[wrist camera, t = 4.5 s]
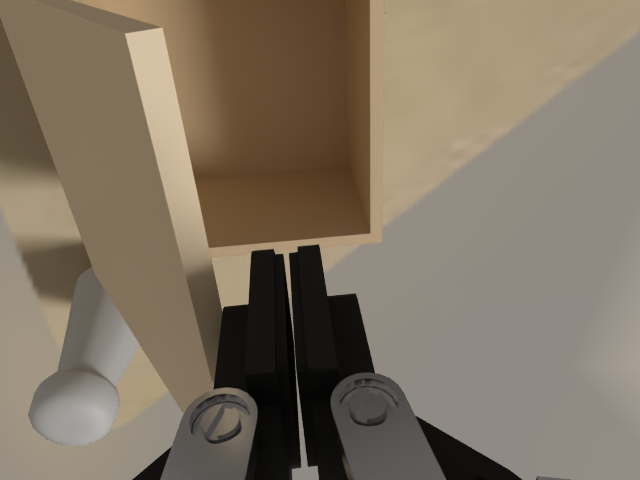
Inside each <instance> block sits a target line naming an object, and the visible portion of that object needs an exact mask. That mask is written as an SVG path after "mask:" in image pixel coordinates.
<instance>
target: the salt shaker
mask: <svg viewBox="0 0 640 480" xmlns="http://www.w3.org/2000/svg"><path fill="white" fill-rule="evenodd" d="M139 346H140V344H139V343H138V341H137V340H136V338H135V336H134V335H133V333H132V332H131V330H130V329H129V327H128V325H127V324H126V322H125V321H124V319H123V318H122V316H121V314H120V313H119V311H118V310H117V308H116V307H115V305H114V303H113V302H112V300H111V299H110V297H109V296H108V294H107V292H106V291H105V289H104V288H103V286H102V285H101V283H100V281H99V280H98V278H97V277H96V275H95V273H94V270H93V268H92V266H91V267H90V268H89V269H87V270H86V271H85V272H83V273H82V274H81V275H80V276H79V277H78V279H77V283H76V286H75V289H74V293H73V298H72V304H71V309H70V314H69V320H68V325H67V330H66V335H65V339H64V344H63V348H62V353H61V357H60V362H59V367H58V371H57V372H55V373H54V374H53V375H51V376H50V377H48V378H47V379H45V380H44V381H43V382H42V383H41V384H40V385H39V387H38V388H37V390H36V392H35V393H34V396H33V400H32V403H31V406H30V410H29V414H28V416H29V419H30V421H31V424H32V426H33V428H34V429H35V430H36V431H37V432H38V433H39V434H40V435H42V436H43V437H44V438H45V439H47V440H49V441H52V442H55V443H57V444H60V445H69V446H80V445H85V444H90V443H92V442H95V441H97V440H98V439H100V438H101V437H103V436H104V435H106V434H107V433H108V431H109V430H110V428H111V426H112V424H113V422H114V420H115V418H116V416H117V414H118V410H119V406H120V399H119V395H118V391H117V388H116V386H117V384H118V382H119V380H120V379H121V377H122V375H123V373H124V372H125V370H126V368H127V366H128V365H129V363H130V361H131V359H132V358H133V356H134V354H135V352H136V350H137V349H138V347H139Z"/></svg>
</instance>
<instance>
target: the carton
mask: <svg viewBox="0 0 640 480" xmlns="http://www.w3.org/2000/svg"><path fill="white" fill-rule="evenodd" d="M72 1H76V2H79V3H82V4H86V5H89V6H92V7H96V8H99V9H102V10H106V11H109V12H112V13H116V14H119V15H123V16H126V17H129V18H133V19H136V20H139V21H143V22H146V23H149V24H153V25H156V26H159V27H162V28H163V32H164V37H165V42H166V47H167V51H168V56H169V61H170V66H171V70H172V75H173V80H174V85H175V89H176V94H177V99H178V104H179V108H180V113H181V118H182V123H183V127H184V132H185V137H186V142H187V146H188V151H189V156H190V161H191V165H192V170H193V175H194V180H195V184H196V189H197V194H198V199H199V203H200V208H201V213H202V218H203V222H204V227H205V232H206V237H207V242H208V246H209V251H210V256H211V258H215V257H226V256H237V255H248V254H251V252H252V251H256V250H266V249H274V252H281V251H292V250H298V249H297V246H307V245H317V244H319V247H320V248H325V247H336V246H347V245H358V244H369V243H380V242H382V205H383V125H384V44H385V0H72Z"/></svg>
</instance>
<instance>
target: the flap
mask: <svg viewBox="0 0 640 480" xmlns="http://www.w3.org/2000/svg"><path fill="white" fill-rule="evenodd" d="M0 19H1V21H2V24H3V27H4V29H5V32H6V35H7V38H8V40H9V43H10V46H11V48H12V51H13V54H14V57H15V59H16V62H17V65H18V67H19V70H20V73H21V75H22V78H23V81H24V84H25V86H26V89H27V92H28V94H29V97H30V100H31V103H32V105H33V108H34V111H35V113H36V116H37V119H38V122H39V124H40V127H41V130H42V132H43V135H44V138H45V140H46V143H47V146H48V149H49V151H50V154H51V157H52V159H53V162H54V165H55V168H56V170H57V173H58V176H59V178H60V181H61V184H62V186H63V189H64V192H65V195H66V197H67V200H68V203H69V205H70V208H71V211H72V214H73V216H74V219H75V222H76V224H77V227H78V230H79V233H80V235H81V238H82V241H83V243H84V246H85V249H86V251H87V254H88V257H89V260H90V262H91V265H92V268H93V270H94V273H95V275H96V277H97V278H98V280H99V281H100V283H101V285H102V286H103V288H104V289H105V291H106V292H107V294H108V296H109V297H110V299H111V300H112V302H113V303H114V305H115V307H116V308H117V310H118V311H119V313H120V314H121V316H122V318H123V319H124V321H125V322H126V324H127V325H128V327H129V329H130V330H131V332H132V333H133V335H134V336H135V338H136V340H137V341H138V343H139V344H140V346H141V347H142V349H143V351H144V352H145V354H146V355H147V357H148V358H149V360H150V362H151V363H152V365H153V366H154V368H155V369H156V371H157V373H158V374H159V376H160V377H161V379H162V380H163V382H164V384H165V385H166V387H167V388H168V390H169V391H170V393H171V395H172V396H173V398H174V399H175V401H176V402H177V404H178V406H179V407H180V409H181V410H182V412H183V413H185V411H186V409H187V407H188V406H189V405H190V404H191V403H192V402H193V401H194V400H195V399H196V398H198V397H200V396H201V395H203V394H204V393H206V392H209V391H212V390H213V387H214V379H215V370H216V362H217V354H218V346H219V337H220V329H221V321H222V308H221V303H220V299H219V294H218V289H217V284H216V280H215V275H214V270H213V265H212V261H211V256H210V251H209V246H208V242H207V237H206V232H205V227H204V222H203V218H202V213H201V208H200V203H199V199H198V194H197V189H196V184H195V180H194V175H193V170H192V165H191V161H190V156H189V151H188V146H187V142H186V137H185V132H184V127H183V123H182V118H181V113H180V108H179V104H178V99H177V94H176V89H175V85H174V80H173V75H172V70H171V66H170V61H169V56H168V51H167V47H166V42H165V37H164V32H163V28H162V27H159V26H156V25H153V24H149V23H146V22H143V21H139V20H136V19H133V18H129V17H126V16H123V15H119V14H116V13H112V12H109V11H106V10H102V9H99V8H96V7H92V6H89V5H86V4H82V3H79V2H76V1H72V0H0Z"/></svg>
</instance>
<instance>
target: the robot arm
mask: <svg viewBox="0 0 640 480" xmlns="http://www.w3.org/2000/svg"><path fill="white" fill-rule="evenodd" d="M297 249H298V252H295V253H289V260H290V276H291V292H292V309H293V325H294V340H295V354H294V340H293V331H292V323H291V314H290V307H289V298H288V289H287V281H286V273H285V264H284V256H283V254H275V252H274V249H266V250H256V251H252V252H251V268H250V287H249V304H248V305H238V306H228V307H224V308H223V313H222V321H221V329H220V337H219V346H218V354H217V362H216V370H215V379H214V387H213V390H212V391H209V392H206V393H204V394H203V395H201V396H200V397H198V398H196V399H195V400H194V401H193V402H192V403H191V404H190V405H189V406H188V407H187V409H186V411H185V413H184V415H183V417H182V419H181V422H180V425H179V428H178V431H177V434H176V437H175V439H174V442H173V445H172V447H171V448H169V449H168V450H167V451H166V452H165V453H163V454H162V455H161V456H160V457H159V458H157V459H156V460H155V461H154V462H153V463H152V464H150V465H149V466H148V467H147V468H146V469H145V470H143V471H142V472H141V473H140V474H139V475H137V476H136V477H135V478H134V479H133V480H292V469H294V468H301V457H300V439H299V422H298V405H297V388H296V371H295V356H296V370H297V380H298V387H299V396H300V405H301V413H302V421H303V428H304V437H305V446H306V454H307V462H308V467H311V466H318V474H319V480H522V479H521V478H519V477H518V476H517V475H515V474H514V473H513V472H511V471H510V470H508V469H507V468H505V467H503V466H502V465H500V464H498V463H496V462H495V461H493V460H491V459H489V458H488V457H486V456H484V455H483V454H481V453H479V452H477V451H475V450H474V449H472V448H470V447H468V446H467V445H465V444H463V443H462V442H460V441H458V440H457V439H455V438H453V437H451V436H450V435H448V434H446V433H444V432H443V431H441V430H439V429H438V428H436V427H434V426H432V425H431V424H429V423H427V422H426V421H424V420H422V419H420V418H419V417H417V416H415V415H414V413H413V411H412V409H411V406H410V404H409V402H408V401H407V399H406V396H405V394H404V392H403V391H402V390H401V388H400V387H399V385H398V384H397V383H395V382H394V381H393V380H391V379H390V378H388V377H386V376H383V375H381V374H376V373H375V372H374V367H373V363H372V358H371V355H370V350H369V346H368V342H367V337H366V333H365V329H364V325H363V321H362V316H361V312H360V308H359V304H358V299H357V296H356V294H347V295H336V296H327V291H326V285H325V279H324V272H323V266H322V259H321V253H320V247H319V244H317V245H307V246H297ZM536 480H569V479H558V478H550V477H539V476H537V478H536Z"/></svg>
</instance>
